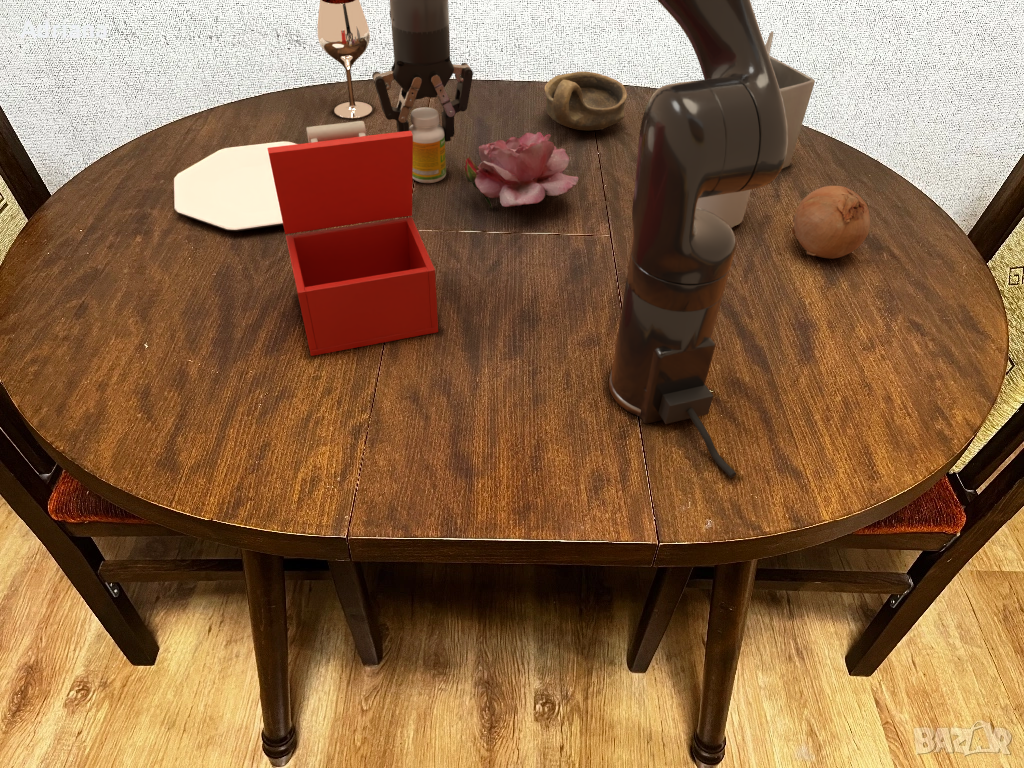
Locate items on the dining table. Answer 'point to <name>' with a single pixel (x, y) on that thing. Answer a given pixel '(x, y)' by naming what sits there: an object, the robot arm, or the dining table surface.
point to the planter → (791, 98)
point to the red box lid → (343, 177)
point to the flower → (520, 170)
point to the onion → (831, 222)
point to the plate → (231, 189)
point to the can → (726, 206)
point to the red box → (363, 284)
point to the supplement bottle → (428, 146)
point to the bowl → (585, 100)
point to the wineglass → (344, 45)
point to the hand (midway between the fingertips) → (426, 141)
